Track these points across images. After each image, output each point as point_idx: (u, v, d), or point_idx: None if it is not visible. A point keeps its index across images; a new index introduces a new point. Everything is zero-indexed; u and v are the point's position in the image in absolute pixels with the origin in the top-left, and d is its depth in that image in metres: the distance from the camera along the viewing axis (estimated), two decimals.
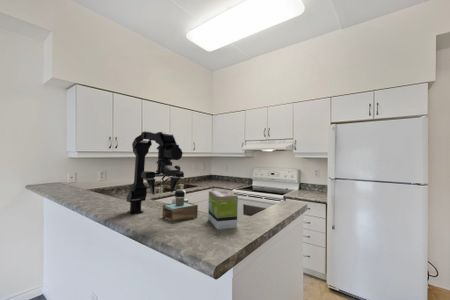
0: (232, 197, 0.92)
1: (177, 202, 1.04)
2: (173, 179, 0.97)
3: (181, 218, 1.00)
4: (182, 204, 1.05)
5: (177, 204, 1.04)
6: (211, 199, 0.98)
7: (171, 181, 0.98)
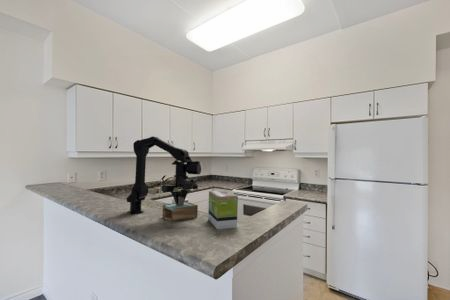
0: (232, 197, 0.92)
1: None
2: (184, 191, 1.07)
3: (181, 218, 1.00)
4: (182, 204, 1.05)
5: (177, 204, 1.04)
6: (211, 199, 0.98)
7: (182, 193, 1.08)
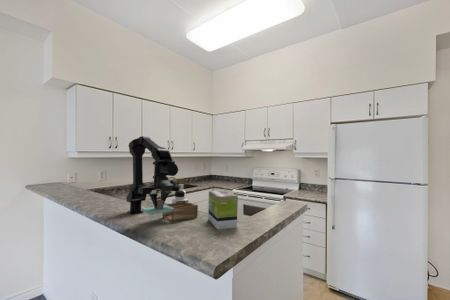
0: (232, 197, 0.92)
1: None
2: (163, 193, 0.99)
3: (181, 218, 1.00)
4: (161, 207, 0.97)
5: (156, 207, 0.96)
6: (211, 199, 0.98)
7: (161, 195, 1.00)
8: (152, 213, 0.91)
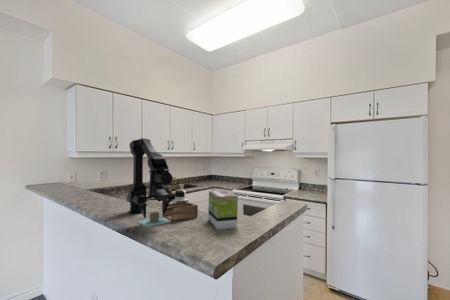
0: (232, 197, 0.92)
1: (151, 218, 0.95)
2: (165, 201, 1.00)
3: (181, 218, 1.00)
4: (157, 220, 0.95)
5: (151, 220, 0.95)
6: (211, 199, 0.98)
7: (163, 203, 1.01)
8: None
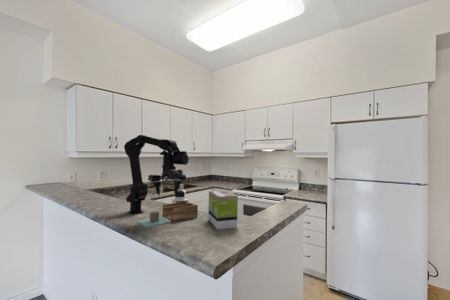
0: (232, 197, 0.92)
1: (151, 218, 0.95)
2: (176, 181, 1.09)
3: (181, 218, 1.00)
4: (157, 220, 0.95)
5: (151, 220, 0.95)
6: (211, 199, 0.98)
7: (175, 183, 1.10)
8: None
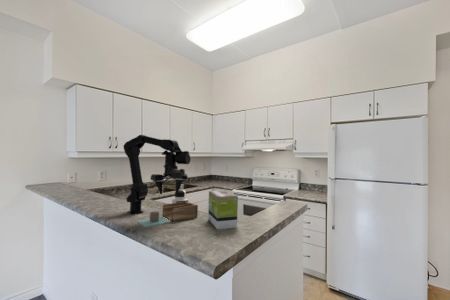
0: (232, 197, 0.92)
1: (151, 218, 0.95)
2: (178, 181, 1.11)
3: (181, 218, 1.00)
4: (157, 220, 0.95)
5: (151, 220, 0.95)
6: (211, 199, 0.98)
7: (176, 183, 1.12)
8: None
